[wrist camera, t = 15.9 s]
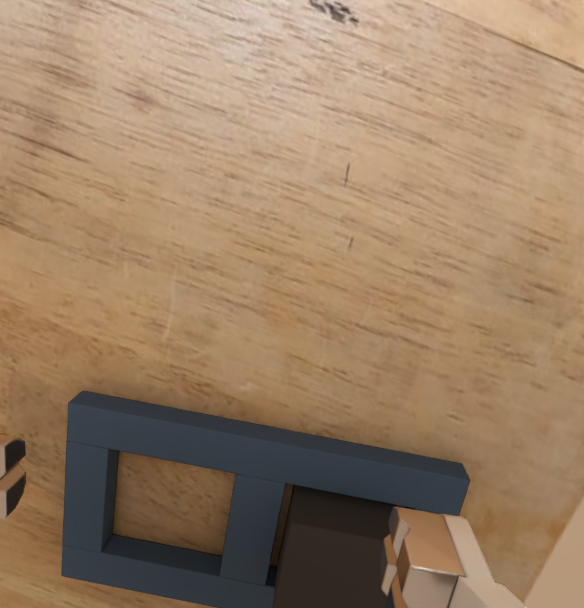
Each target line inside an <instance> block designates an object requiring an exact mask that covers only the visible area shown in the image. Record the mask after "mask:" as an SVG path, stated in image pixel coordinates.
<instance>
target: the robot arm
mask: <svg viewBox="0 0 584 608" xmlns="http://www.w3.org/2000/svg"><path fill="white" fill-rule="evenodd" d="M25 455H26V452H25V441H23V440H22V439H21V438H20V437H15V436H10V435H6V434H1V433H0V520H2V519H4V518H6V517H7V516H8V515H9V514H10V513H11V512H12V511H13V510H14V509H15V507H16V506H17V504H18V502H19V500H20V498H21V497H22V495H23V492H24V488H25V484H26V472H25V470H24V469H23V467H22V466H21V464H20V463H19V462H20V461H21V460H22V458H23V457H24V456H25ZM388 524H389V529H390V534H389V535H388V536H387V537H385V538H384V540H383V544H382V549H381V555H380V565H379V569H380V583H381V589H382V590H383V592H384V593H385V594H386V596H387V600H386V604H385V608H528V607H527V606H526V605H525V604H524V603H523V602H521V601H520V600H519V599H518V598H517V597H516V596H515V595H514V594H513V593H512V592H511V591H510V590H508V589H507V588H506V587H505V586H504V585H502V584H497V583H495V581H494V578H493V576H492V574H491V571H490V569H489V567H488V565H487V562H486V560H485V558H484V556H483V553H482V551H481V549H480V546H479V544H478V542H477V540H476V537H475V535H474V533H473V530H472V528H471V526H470V524H469V521H468V520H467V519H466V518H465V517H460V516H453V515H447V514H436V513H430V512H424V511H419V510H413V509H407V508H402V507H396V506H393V508H392V510H391V513H390V516H389V520H388Z"/></svg>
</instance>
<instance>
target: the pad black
mask: <svg viewBox="0 0 584 608" xmlns="http://www.w3.org/2000/svg"><path fill="white" fill-rule="evenodd" d="M393 506H396V507H397V505H395V504H390V503H385V502H380V501H375V500H369V499H364V498H359V497H354V496H349V495H344V494H339V493H334V492H328V491H323V490H318V489H313V488H308V487H303V486H298V485H293V490H292V495H291V500H290V505H289V510H288V515H287V519H286V524H285V529H284V534H283V539H282V544H281V549H280V553H279V558H278V565H277V574H276V582H275V590H274V599H273V607H272V608H385V604H386V600H387V596H386V594H385V593H384V592H383V590H382V589H381V583H380V569H379V565H380V555H381V549H382V544H383V540H384V538H385V537H387V536H388V535H389V534H390V529H389V524H388V520H389V516H390V513H391V510H392V508H393Z"/></svg>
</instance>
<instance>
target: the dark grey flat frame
mask: <svg viewBox="0 0 584 608" xmlns="http://www.w3.org/2000/svg"><path fill="white" fill-rule="evenodd" d="M119 451H124V452H129V453H134V454H139V455H144V456H149V457H154V458H159V459H165V460H170V461H175V462H180V463H185V464H190V465H195V466H200V467H206V468H211V469H216V470H221V471H226V472H231V473H236V476H235V482H234V488H233V494H232V501H231V507H230V513H229V519H228V525H227V531H226V538H225V544H224V550H223V556H218V555H213V554H208V553H203V552H198V551H193V550H188V549H183V548H178V547H173V546H168V545H163V544H158V543H153V542H148V541H143V540H138V539H133V538H128V537H123V536H118V535H113V534H112V532H113V520H114V507H115V494H116V481H117V468H118V455H119ZM286 483H288V484H293V485H298V486H303V487H308V488H313V489H318V490H323V491H328V492H334V493H339V494H344V495H349V496H354V497H359V498H364V499H369V500H375V501H380V502H385V503H390V504H395V505H400V506H405V508H407V509H413V510H419V511H424V512H430V513H436V514H447V515H453V516H459V514H460V510H461V507H462V504H463V501H464V498H465V495H466V492H467V489H468V486H469V483H470V479H469V477H468V475H467V473H466V471H465V469H464V467H463V465H462V464H461V463H456V462H450V461H445V460H440V459H435V458H430V457H424V456H419V455H414V454H409V453H404V452H399V451H393V450H388V449H383V448H378V447H373V446H367V445H362V444H357V443H352V442H347V441H341V440H336V439H331V438H326V437H321V436H315V435H310V434H305V433H300V432H295V431H290V430H284V429H279V428H274V427H269V426H264V425H258V424H253V423H248V422H243V421H238V420H232V419H227V418H222V417H217V416H212V415H206V414H201V413H196V412H191V411H186V410H180V409H175V408H170V407H165V406H160V405H155V404H149V403H144V402H139V401H134V400H129V399H123V398H118V397H113V396H108V395H103V394H97V393H92V392H87V391H82V392H81V393H79V394H78V395H77V396H76V397H75V398H73V399H72V400H71V401H70V402H69V403H68V426H67V446H66V470H65V495H64V519H63V543H62V544H63V549H62V573H61V575H62V576H64V577H69V578H73V579H78V580H83V581H88V582H93V583H98V584H103V585H108V586H113V587H118V588H123V589H128V590H133V591H138V592H143V593H148V594H153V595H158V596H163V597H168V598H172V599H177V600H182V601H187V602H192V603H197V604H202V605H207V606H212V607H217V608H272V607H273V599H274V590H275V582H276V574H277V567H273V566H269V565H270V560H271V555H272V549H273V544H274V539H275V534H276V529H277V524H278V519H279V514H280V509H281V504H282V499H283V494H284V489H285V484H286Z"/></svg>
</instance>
